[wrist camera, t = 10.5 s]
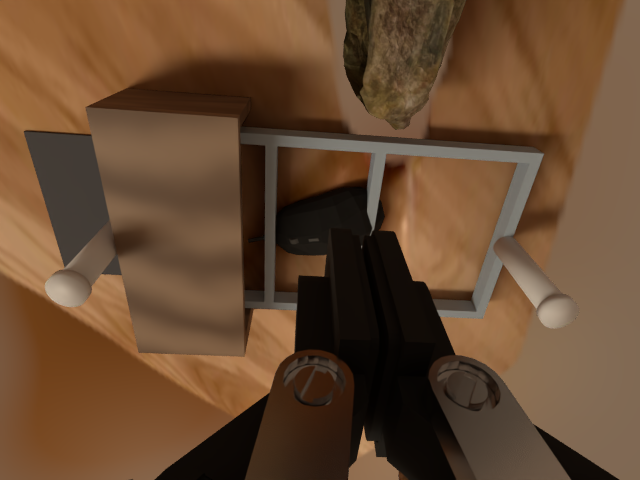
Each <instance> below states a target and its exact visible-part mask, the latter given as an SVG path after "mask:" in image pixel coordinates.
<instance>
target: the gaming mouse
mask: <svg viewBox="0 0 640 480" xmlns="http://www.w3.org/2000/svg"><path fill="white" fill-rule="evenodd" d="M384 217H385V216H384V211H383V207H382V203H381V201H380V200H379V203H378V209H377V215H376V221H375V227H374V230H377V231H378V230H379V229H380V228H381V225H382V223H383V220H384ZM330 228H341V229H351V231H352V235H359V238H360V243H361V246H362V244H363V238H364V236H365V235H369V236H370V234H371V231H372V226H371V223H370V220H369V216H368V213H367V189H364V188H361V187H348V188H341V189H337V190H333V191H330V192H327V193H324V194H322V195H319V196H316V197H313V198H309V199H306V200H303V201H300V202H297V203H294V204H292V205H289V206H286V207H284V208H283V209H282V210H281V211H280V212H279V213H278V214H277V215H276V244H278V245H279V246H280V247H281V248H283V249H284V250H285V251H286V252H288V253H292V254H296V255H325V254H327V246H328V236H329V229H330ZM259 240H264V241H265V235H263V236H261V237H257V238H252V239H248V242H249V243H250V242H254V241H259Z"/></svg>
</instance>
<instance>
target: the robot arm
mask: <svg viewBox="0 0 640 480" xmlns="http://www.w3.org/2000/svg"><path fill="white" fill-rule="evenodd" d="M363 426H364V429H365V436H366V440H367V441H374V444H375V450H376V457H387V461H388V462H389V463H390V464H392V465H393V466H394V467H395V468H396V469H397V470H398V471H399V474H398V477H399V480H619V479H617V478H616V477H614V476H613V475H611V474H610V473H608V472H607V471H605V470H604V469H602V468H600V467H599V466H597V465H596V464H594V463H593V462H591V461H590V460H588V459H587V458H585V457H583V456H582V455H580V454H579V453H577V452H576V451H574V450H573V449H571V448H569V447H568V446H566V445H565V444H563V443H562V442H560V441H559V440H557V439H556V438H554V437H553V436H551V435H549V434H548V433H546V432H545V431H543V430H542V429H540V428H539V427H537V426H535V425H534V424H532V422H531V421H530V419H529V418H528V416H527V415H526V413H525V412H524V410H523V409H522V407H521V406H520V405H519V403H518V402H517V400H516V399H515V397H514V396H513V395H512V393H511V392H510V390H509V389H508V387H507V386H506V384H505V383H504V381H503V380H502V379H501V378H500V377H499V376H498V374H497V373H496V372H495V371H493V370H492V369H491V368H489V367H488V366H487V365H485V364H483V363H481V362H479V361H477V360H475V359H473V358H469V357H465V356H460V355H455V353H454V350H453V348H452V345H451V343H450V340H449V338H448V336H447V333H446V331H445V328H444V326H443V324H442V321H441V319H440V316H439V314H438V311H437V309H436V307H435V304H434V302H433V299H432V297H431V294H430V292H429V290H428V287H427V285H426V284H425V283H424V282H419V281H413V280H412V277H411V274H410V272H409V269H408V266H407V264H406V261H405V258H404V256H403V253H402V250H401V247H400V245H399V242H398V239H397V237H396V234H395V232H393V231H377V230H373V231H372V233H371V236H369V235H365V236H364V238H363V244H362V248H361V243H360V238H359V235H352V231H351V229H341V228H330V229H329V236H328V246H327V256H326V266H325V276H324V277H319V276H299V278H298V294H297V311H296V331H295V352H294V354H292V355H290V356H288V357H287V358H286V359H285V360H284V361H283V362H282V363H280V365H279V367H278V369H277V371H276V373H275V376H274V380H273V383H272V387H271V390H270V393H269V394H267V395H266V396H264V397H263V398H262V399H260V400H259V401H258V402H256V403H255V404H254V405H252V406H251V407H250V408H248V409H247V410H245V411H244V412H243V413H241V414H240V415H239V416H237V417H236V418H235V419H233V420H232V421H231V422H229V423H228V424H226V425H225V426H224V427H222V428H221V429H220V430H218V431H217V432H216V433H214V434H213V435H212V436H210V437H209V438H207V439H206V440H205V441H204V442H202V443H201V444H199V445H198V446H197V447H195V448H194V449H193V450H191V451H190V452H189V453H187V454H186V455H184V456H183V457H182V458H180V459H179V460H178V461H176V462H175V463H174V464H172V465H171V466H170V467H168V468H167V469H166V470H165V471H163V472H162V473H161V474H160V475H159V476H158V477H157V478H156V479H155V480H348V474H349V473H348V472H349V467H350V466H351V465H352V464H353V463H354V462H355V461H356V459H357V454H358V450H359V445H360V440H361V436H362V431H363ZM131 480H133V479H131Z"/></svg>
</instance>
